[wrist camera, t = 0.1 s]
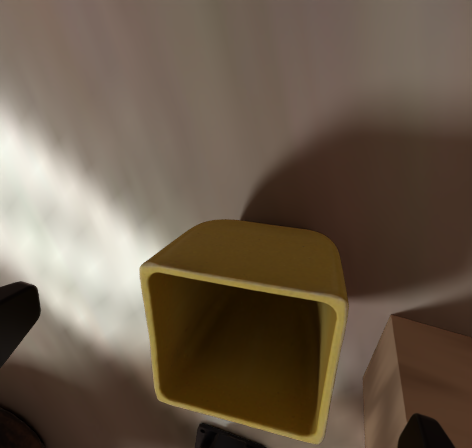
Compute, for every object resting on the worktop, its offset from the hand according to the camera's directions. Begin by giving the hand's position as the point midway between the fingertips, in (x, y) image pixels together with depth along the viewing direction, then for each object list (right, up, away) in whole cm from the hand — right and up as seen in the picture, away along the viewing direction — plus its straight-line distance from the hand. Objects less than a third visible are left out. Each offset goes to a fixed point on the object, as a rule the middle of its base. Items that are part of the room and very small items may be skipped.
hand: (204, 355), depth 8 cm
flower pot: (+3, +1, +16) cm, 16 cm away
